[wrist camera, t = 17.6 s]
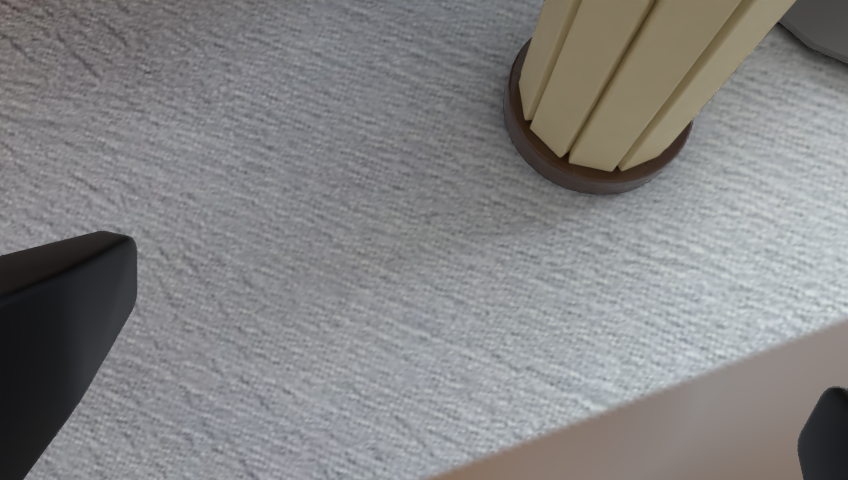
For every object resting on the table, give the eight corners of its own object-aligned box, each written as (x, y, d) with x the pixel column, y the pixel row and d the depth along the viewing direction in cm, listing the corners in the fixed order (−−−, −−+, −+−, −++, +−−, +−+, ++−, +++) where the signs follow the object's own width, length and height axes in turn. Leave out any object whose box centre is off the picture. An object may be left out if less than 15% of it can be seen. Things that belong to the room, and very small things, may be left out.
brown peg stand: (672, 213, 21) (755, 139, 16) (487, 172, 21) (516, 86, 16) (690, 53, 23) (770, -56, 18) (520, 16, 23) (554, -102, 18)
